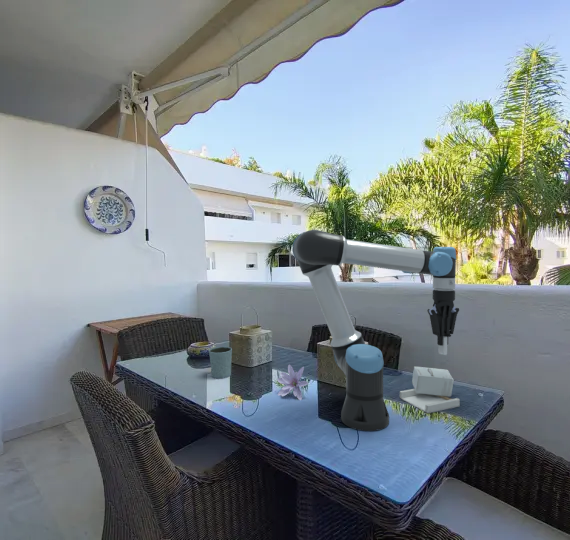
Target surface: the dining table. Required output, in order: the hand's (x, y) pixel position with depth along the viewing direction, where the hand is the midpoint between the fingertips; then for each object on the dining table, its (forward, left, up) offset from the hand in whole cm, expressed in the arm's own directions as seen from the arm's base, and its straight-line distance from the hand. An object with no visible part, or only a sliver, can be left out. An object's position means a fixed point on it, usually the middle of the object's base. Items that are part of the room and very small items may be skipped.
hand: (442, 353), depth 134 cm
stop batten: (0, 0, -17) cm, 17 cm away
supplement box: (+4, +1, -12) cm, 12 cm away
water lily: (-49, +26, -17) cm, 58 cm away
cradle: (-7, 0, -17) cm, 18 cm away
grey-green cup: (-70, +60, -17) cm, 93 cm away
